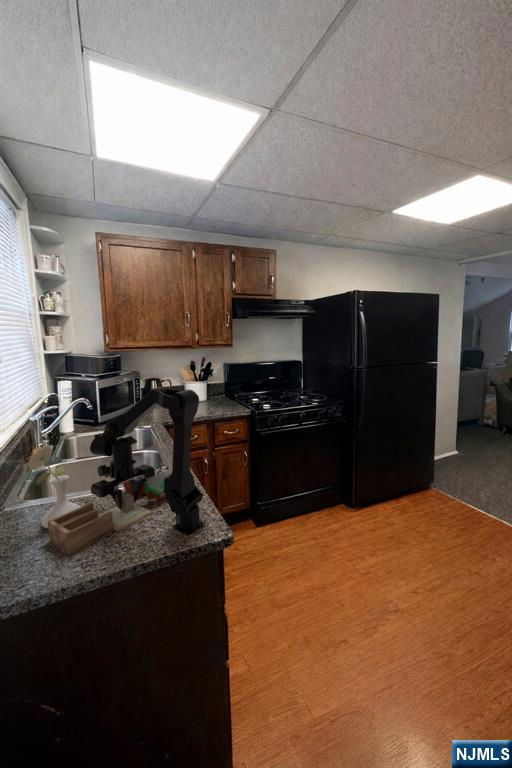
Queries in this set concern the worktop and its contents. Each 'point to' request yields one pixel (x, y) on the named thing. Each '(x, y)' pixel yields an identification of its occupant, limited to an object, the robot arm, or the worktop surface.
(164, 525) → the worktop surface
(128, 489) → the fruit
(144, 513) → the mat
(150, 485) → the food container
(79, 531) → the box
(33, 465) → the flower in vase
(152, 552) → the worktop surface
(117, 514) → the lid
